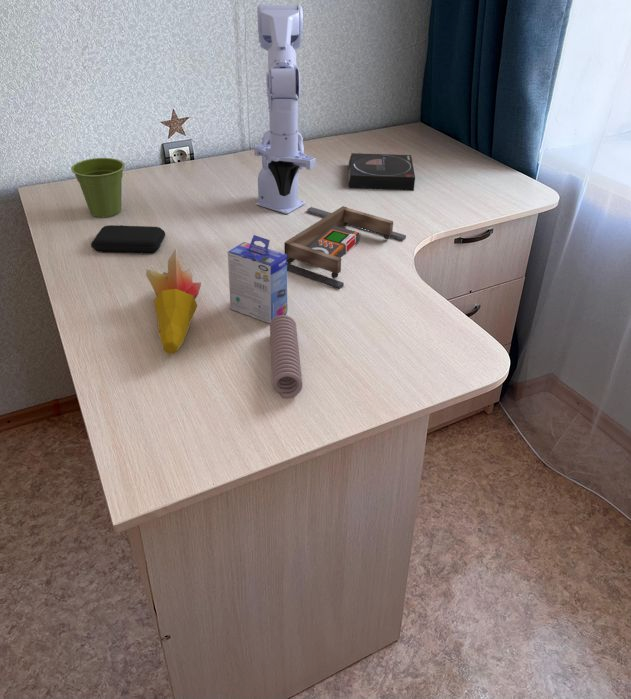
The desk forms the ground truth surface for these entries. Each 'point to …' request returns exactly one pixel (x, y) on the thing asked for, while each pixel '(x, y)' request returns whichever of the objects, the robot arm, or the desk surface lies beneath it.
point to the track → (322, 278)
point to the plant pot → (101, 184)
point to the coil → (285, 356)
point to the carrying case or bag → (128, 239)
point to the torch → (173, 302)
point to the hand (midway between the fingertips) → (284, 194)
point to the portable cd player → (381, 172)
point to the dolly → (340, 218)
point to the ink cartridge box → (258, 280)
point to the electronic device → (336, 241)
